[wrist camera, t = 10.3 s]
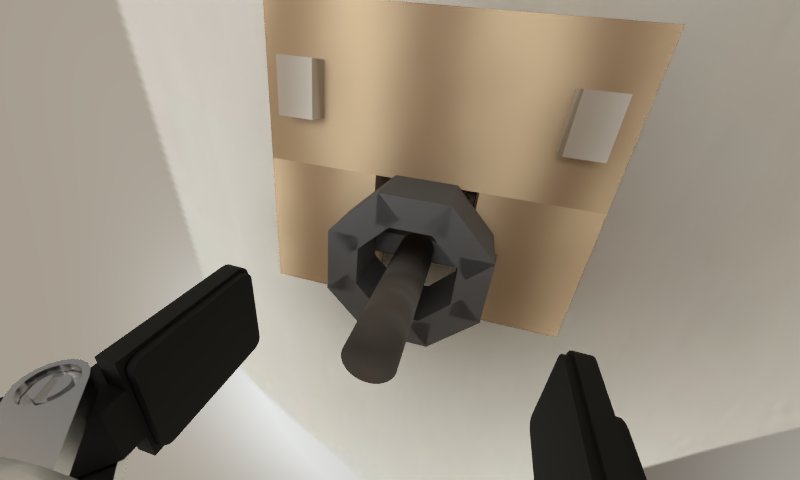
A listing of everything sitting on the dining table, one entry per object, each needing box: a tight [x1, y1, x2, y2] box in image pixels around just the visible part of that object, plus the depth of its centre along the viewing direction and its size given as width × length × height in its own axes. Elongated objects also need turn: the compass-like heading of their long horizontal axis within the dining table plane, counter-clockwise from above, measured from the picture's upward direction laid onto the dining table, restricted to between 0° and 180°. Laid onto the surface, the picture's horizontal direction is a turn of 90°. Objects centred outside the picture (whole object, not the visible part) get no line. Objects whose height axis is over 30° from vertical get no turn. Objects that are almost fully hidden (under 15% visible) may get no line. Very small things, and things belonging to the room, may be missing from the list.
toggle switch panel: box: [263, 0, 685, 384], centre depth 14 cm, size 16×14×11 cm
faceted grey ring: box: [328, 175, 495, 346], centre depth 16 cm, size 7×7×3 cm
